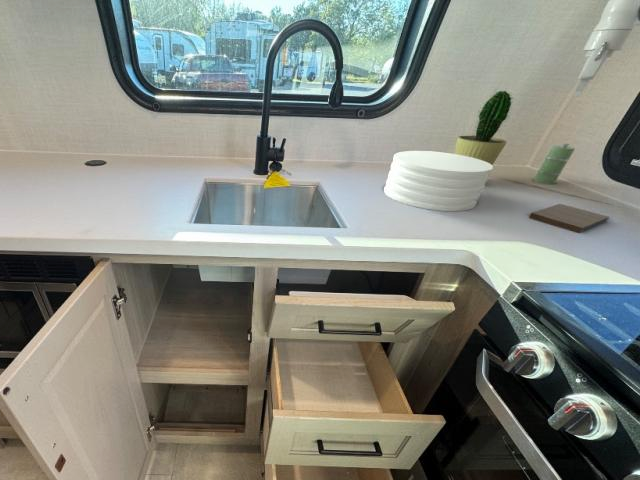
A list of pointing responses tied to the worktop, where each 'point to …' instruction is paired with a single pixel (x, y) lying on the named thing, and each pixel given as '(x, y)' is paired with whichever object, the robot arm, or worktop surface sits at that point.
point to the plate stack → (436, 180)
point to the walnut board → (569, 217)
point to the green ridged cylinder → (554, 164)
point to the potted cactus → (487, 130)
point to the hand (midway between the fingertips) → (575, 96)
